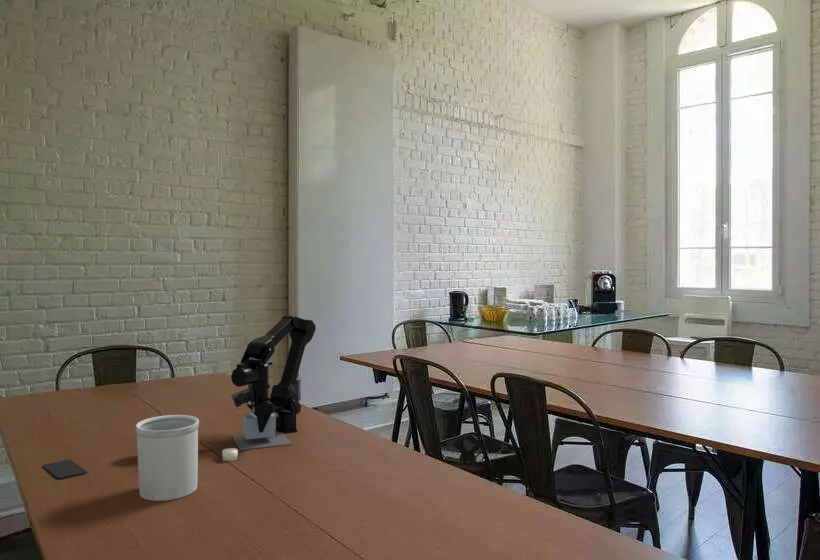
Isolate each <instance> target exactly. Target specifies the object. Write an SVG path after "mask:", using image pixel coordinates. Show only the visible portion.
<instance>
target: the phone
mask: <svg viewBox="0 0 820 560" xmlns="http://www.w3.org/2000/svg"><path fill="white" fill-rule="evenodd" d="M42 467H43V468H44V469H45V470H46V471H47V472H48V473H49V474H51V476H53V477H54V478H55V479H56V480H59V481H60V480H61V481H62V480H66V479H71V478H75V477H80V476H85V475H87V474H88V471H87V470H86V469H85V468H84V467H82V466H80V465H79V464H77V463H76V462H75V461H73V460H71V459H65V460H59V461H55V462H50V463H46V464H43V466H42Z"/></svg>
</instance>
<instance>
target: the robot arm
mask: <svg viewBox="0 0 820 560" xmlns="http://www.w3.org/2000/svg"><path fill="white" fill-rule="evenodd" d="M316 328H317V327H316V324H315V323H314V321H313V320H312V319H304V318H301V317H298V316H296V315H290V314H289V315H288V314H287V315H283V316H282V317H281V319H280V320H279V321H278V322H276V324H275V325H274V326H273V327H272V328H271V329H270V330H269V331H268V332H266V333H265V334H264V335H263V336H260V337H257V338H254V339H253V340H251V341H249V343H248V344H247V346H246V348H245V350H244V353H243V355H242V358H241V359H240V363H237V364H236V368H235V369H233V370H232V372H231V375H230V378H231V382H232V384H233V385H234V386H236V387H238V388H239V387H240V388H241V387H244V386H247V388H245V389H242V390H240V391H238V392H235V393H233V394H231V395H230V396H231V400H232V402H233V404H234V406H235V407H236V408H238V407H241V406H242V405H244V404H246V407H248V409H250V410H251V413H253V414H254V415H255V416H256V417H257V422H258V428H259V432H260V433H261V432H263V431H264V429H265V427H266V424H267V422H268V420H269V418H270V416H271V414H272V413H273V414H275V431H278V432H279V433H280V432H283V434H285V433H294V432H298V428H297V415H299V414H300V413H301V410H302V405H301V404H300V401H297V399H296V398H297V392H296V388H295V382H296V379H297V375H298V374H299V370H300V366H301V363H302V360H303V356H304V352H305V349H306V346H307V345H308V344H309V343H310V342H311V340H313V337H314V335H315V333H316V330H317V329H316ZM288 334H289V335H288ZM287 336H290V337H289V338H290V341H291V342H290V346H289V349H288V354H287V356H286V357H287V358H286V361H285V364H284V368H283V372H282V374H281V378H280V381H279V382H278V384H273V386H272V388H271V385H270V384H269V374H270V373H269V370H270V369H269V368H270V367H269V366H272V365H273V362H272V361H271V360H270V359H271V358H272V356H273V354H274V353H275V352H276V346H277V345H278V344H279V343H280V342H281V341H282V340H283V339H284V338H285V337H287ZM270 388H271V392H270V394H269V390H270Z"/></svg>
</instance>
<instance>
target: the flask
mask: <svg viewBox="0 0 820 560" xmlns="http://www.w3.org/2000/svg"><path fill="white" fill-rule="evenodd" d="M301 383H302V377H301V376H300V373H298V375H297V379H296V382H295V388H296V392H297V398H296V399H297V401H298V402H300V401H301V400H302V396H301V395H302V392H301V391H302V388H301V386H302V384H301Z"/></svg>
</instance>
